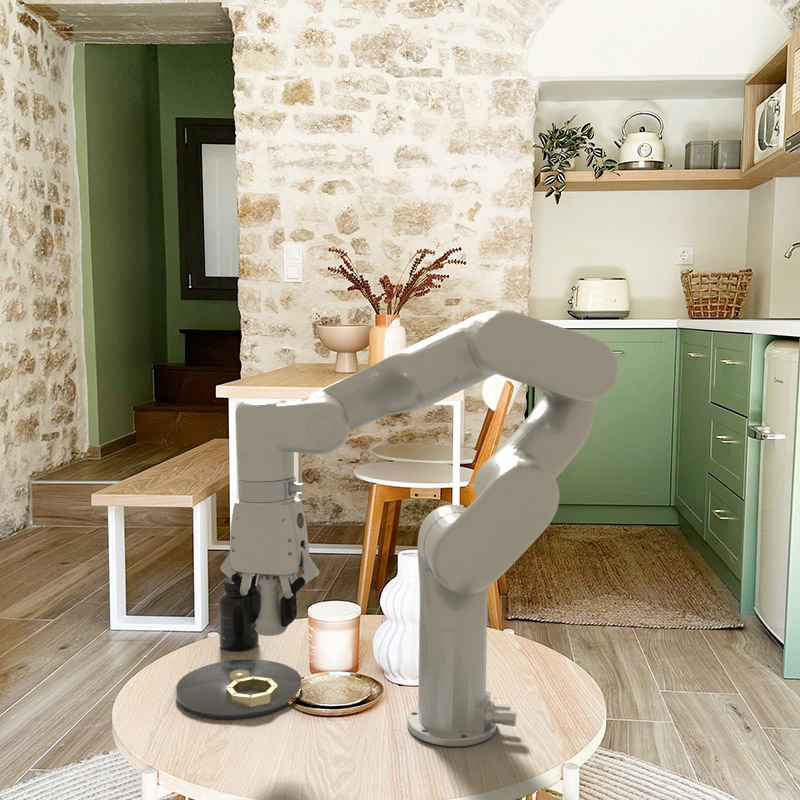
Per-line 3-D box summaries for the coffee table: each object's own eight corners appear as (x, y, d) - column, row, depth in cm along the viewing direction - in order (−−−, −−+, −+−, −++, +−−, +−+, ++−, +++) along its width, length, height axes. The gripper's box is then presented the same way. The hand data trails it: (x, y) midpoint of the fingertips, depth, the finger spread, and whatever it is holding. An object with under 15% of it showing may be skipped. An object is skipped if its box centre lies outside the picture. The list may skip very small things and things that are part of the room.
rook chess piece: (271, 639, 115) (269, 580, 114) (248, 632, 118) (245, 575, 117) (294, 629, 119) (292, 572, 118) (271, 623, 121) (269, 567, 121)
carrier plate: (319, 675, 140) (319, 657, 140) (270, 727, 122) (270, 706, 122) (213, 662, 145) (213, 645, 145) (152, 710, 127) (151, 690, 127)
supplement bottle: (245, 635, 158) (244, 571, 157) (265, 646, 153) (265, 579, 152) (211, 644, 154) (211, 578, 153) (232, 655, 149) (231, 587, 148)
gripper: (334, 487, 118) (338, 617, 120) (222, 483, 122) (227, 609, 124) (314, 498, 111) (318, 636, 112) (196, 494, 115) (202, 627, 117)
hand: (270, 620), depth 118 cm, fingers closed on rook chess piece, 4 cm apart
